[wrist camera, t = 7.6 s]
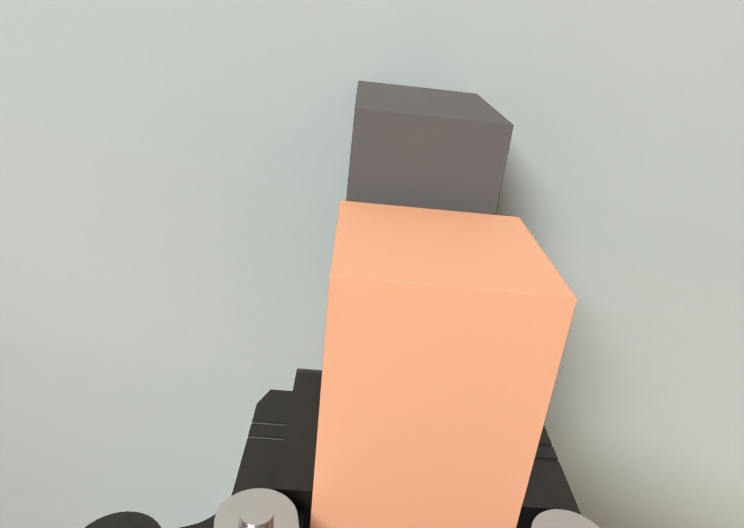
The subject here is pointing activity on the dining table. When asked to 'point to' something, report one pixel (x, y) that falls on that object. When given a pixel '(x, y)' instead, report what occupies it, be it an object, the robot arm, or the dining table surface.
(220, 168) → the dining table surface
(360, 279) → the dowel
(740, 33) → the dining table surface
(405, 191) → the block
